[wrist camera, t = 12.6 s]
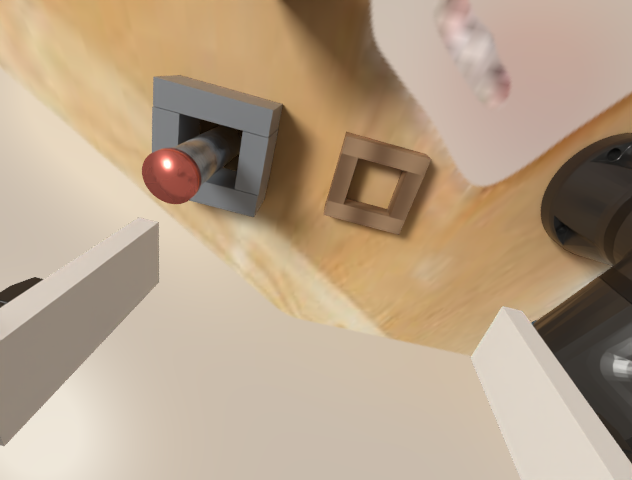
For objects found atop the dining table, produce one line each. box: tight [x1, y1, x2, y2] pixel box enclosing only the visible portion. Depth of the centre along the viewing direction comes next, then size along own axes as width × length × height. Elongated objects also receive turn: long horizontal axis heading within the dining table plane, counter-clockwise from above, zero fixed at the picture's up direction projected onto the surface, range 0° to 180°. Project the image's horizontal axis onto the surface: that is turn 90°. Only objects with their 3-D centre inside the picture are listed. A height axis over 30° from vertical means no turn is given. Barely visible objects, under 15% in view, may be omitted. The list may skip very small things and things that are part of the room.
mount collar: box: [324, 132, 431, 235], centre depth 40 cm, size 10×10×2 cm
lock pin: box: [142, 125, 242, 204], centre depth 34 cm, size 5×5×15 cm
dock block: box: [152, 75, 283, 217], centre depth 38 cm, size 12×12×6 cm
